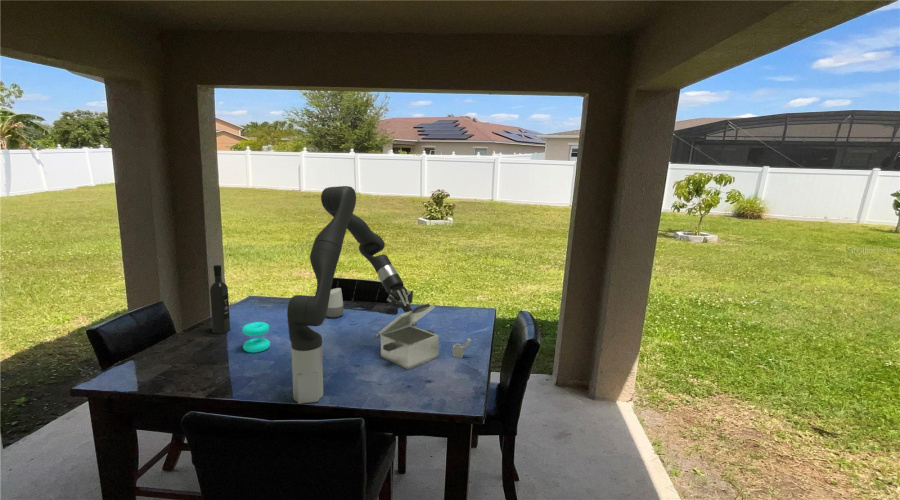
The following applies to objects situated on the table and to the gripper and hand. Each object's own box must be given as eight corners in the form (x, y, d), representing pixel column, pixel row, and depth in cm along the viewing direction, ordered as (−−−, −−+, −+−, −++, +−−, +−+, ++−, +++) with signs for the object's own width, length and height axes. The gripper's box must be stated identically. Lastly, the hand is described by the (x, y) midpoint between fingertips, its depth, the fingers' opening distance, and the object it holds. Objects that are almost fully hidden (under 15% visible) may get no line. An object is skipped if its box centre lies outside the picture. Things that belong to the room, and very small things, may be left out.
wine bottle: (231, 329, 196) (227, 264, 191) (223, 334, 191) (219, 267, 186) (219, 329, 197) (215, 264, 192) (211, 333, 191) (206, 266, 186)
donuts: (268, 328, 172) (240, 330, 168) (270, 352, 174) (242, 355, 170) (269, 320, 181) (243, 322, 178) (270, 342, 183) (244, 345, 179)
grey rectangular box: (371, 359, 169) (371, 335, 168) (416, 342, 187) (416, 321, 185) (399, 372, 158) (400, 347, 157) (445, 354, 176) (445, 331, 174)
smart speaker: (324, 313, 222) (323, 287, 220) (342, 312, 225) (342, 286, 222) (324, 319, 213) (324, 292, 211) (344, 318, 216) (343, 291, 213)
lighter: (452, 356, 174) (452, 337, 172) (453, 355, 175) (453, 336, 174) (469, 358, 172) (470, 339, 171) (470, 357, 174) (471, 338, 172)
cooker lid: (379, 335, 170) (378, 332, 170) (411, 324, 182) (410, 322, 183) (407, 312, 157) (406, 309, 158) (440, 303, 170) (438, 300, 170)
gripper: (381, 275, 168) (402, 313, 162) (406, 270, 178) (427, 306, 172) (372, 286, 173) (393, 323, 167) (398, 281, 182) (418, 316, 176)
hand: (410, 314), depth 169 cm, fingers closed
